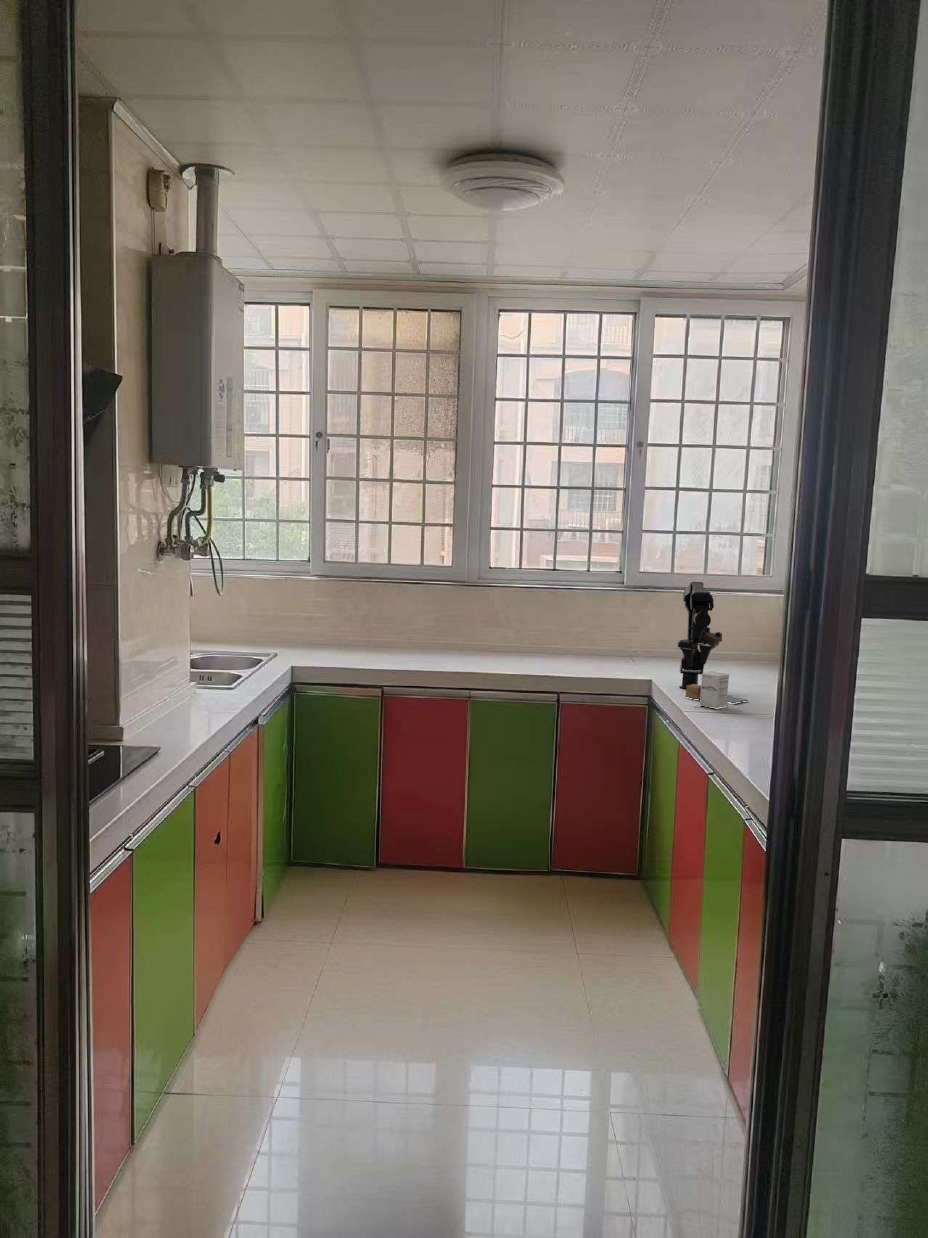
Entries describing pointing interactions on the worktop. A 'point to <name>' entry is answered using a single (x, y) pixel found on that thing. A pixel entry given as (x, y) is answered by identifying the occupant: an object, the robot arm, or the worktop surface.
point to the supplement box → (714, 689)
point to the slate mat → (735, 699)
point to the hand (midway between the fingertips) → (697, 665)
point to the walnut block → (693, 691)
